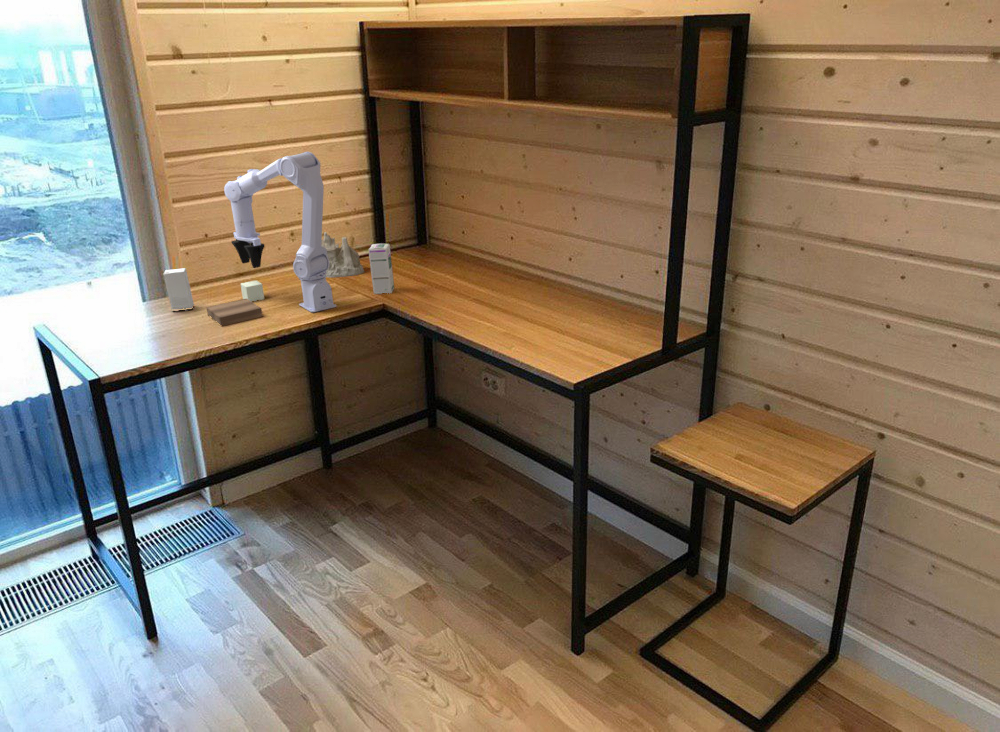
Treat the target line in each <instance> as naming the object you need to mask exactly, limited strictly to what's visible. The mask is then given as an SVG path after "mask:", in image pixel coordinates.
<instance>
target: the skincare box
mask: <svg viewBox="0 0 1000 732" xmlns="http://www.w3.org/2000/svg"><path fill="white" fill-rule="evenodd" d="M162 275H163V279H164V283H165V286H166V291H167V296H168V299H169V304H170V307H171V310H172V309H183V308H184V309H186V308H192V307H193V305H194V306H195V304H194V300H193V294H192V290H191V286H190V281H189V277H188V271H187V268H185V267H184V268H182V267H181V268H176V269H175V268H174V269H173V268H171V269H165V271H164V272H163V273H162Z"/></svg>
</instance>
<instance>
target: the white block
mask: <svg viewBox="0 0 1000 732" xmlns="http://www.w3.org/2000/svg"><path fill="white" fill-rule="evenodd" d="M240 289H241V296H242V299H246V298H247V299H248V300H250V301H251V302H252V301H254V302H258V301H257V300H259V301H262V300H265V293H264V287H263V284H262V282H260V281H258V280H257V279H256V280H251V281H246V282H240Z"/></svg>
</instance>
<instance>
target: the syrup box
mask: <svg viewBox="0 0 1000 732" xmlns="http://www.w3.org/2000/svg"><path fill="white" fill-rule="evenodd" d="M368 256H369V265H370V267H369V268H370V273H371V275H370V276H371V283H372V290H373V295H383V294H382V293H387V294H388V293H389V295H390V293H391V294H392V293H393V292H394V289H395V281H394V271H393V262H392V253H391V246H390V243H384V242H383V243H382V242H381V243H374V244H373V243H372V244H371V246H370V247H369V248H368ZM387 294H386V295H387Z"/></svg>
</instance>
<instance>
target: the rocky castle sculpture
mask: <svg viewBox="0 0 1000 732" xmlns="http://www.w3.org/2000/svg"><path fill="white" fill-rule="evenodd" d="M341 242H342V243H341V245H340V247H339V243H336V240H335V237H333V238H332V237H331V236H330V235H328V233H327V232H326V231H325V232H324V231H323V238H322V241H321V245H322V246H323V247H324V248H326V249H327V256H328V259H329V268H328V269H327V270H326V273H327V274H326V275H325V276H326V278H331V279H332V278H341V277H342V278H343V277H344V278H345V277H352V276H353V277H354V275H355V276H359V274H360V275H362V274H364V273H365V270H364V267H363V265H362V264H361V260H360V259H359V258H360V255H359V253H358V251H356V250H355V249H353V248H352V246H350V245H349V243H348V242H349V241H348V238H347V237H345V236H344V237H343V236H342V237H341Z"/></svg>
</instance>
